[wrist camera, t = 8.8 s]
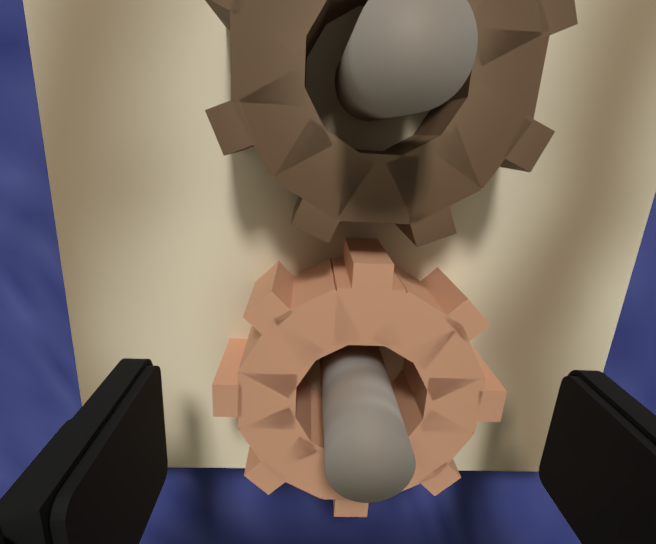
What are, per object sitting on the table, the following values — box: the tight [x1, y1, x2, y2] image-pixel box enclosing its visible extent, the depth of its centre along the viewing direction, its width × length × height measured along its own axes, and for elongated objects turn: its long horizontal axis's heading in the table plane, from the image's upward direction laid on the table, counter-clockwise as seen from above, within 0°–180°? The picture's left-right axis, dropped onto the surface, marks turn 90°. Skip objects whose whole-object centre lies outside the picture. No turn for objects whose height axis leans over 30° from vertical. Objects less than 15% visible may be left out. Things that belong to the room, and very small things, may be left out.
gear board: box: [23, 0, 656, 503], centre depth 10 cm, size 16×16×6 cm
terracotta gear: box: [212, 237, 507, 517], centre depth 12 cm, size 7×7×2 cm
